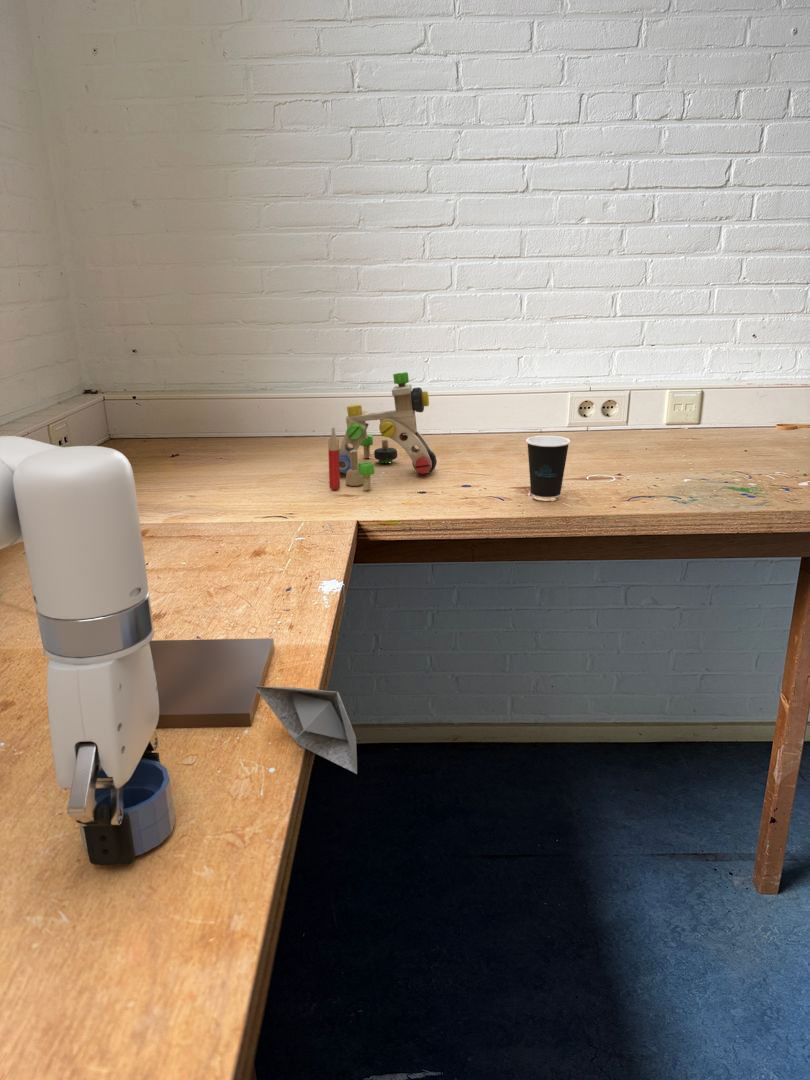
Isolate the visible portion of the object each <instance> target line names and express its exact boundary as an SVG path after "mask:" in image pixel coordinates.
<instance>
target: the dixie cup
mask: <svg viewBox="0 0 810 1080" xmlns="http://www.w3.org/2000/svg"><path fill="white" fill-rule="evenodd" d="M525 442H526V443H527V457H528V472H529V485H530V494H531V496H534V497H536V498H542V499H550V498H556V497H558V496H559V497H560V495H561V492H562V486H563V480H564V473H565V470H566V462H567V456H568V451H569V445H570V444H571V440H570V439H569V438H567V437H563V436H558V435H535V436H530V437H528V438H526V441H525Z"/></svg>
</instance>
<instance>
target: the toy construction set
mask: <svg viewBox="0 0 810 1080" xmlns="http://www.w3.org/2000/svg"><path fill="white" fill-rule="evenodd" d="M392 377H393V384H394V387H392V389H391V396H392V397H393V401H394V409H395V410H386V411H385V410H384V411H377V412H368V413H363V407H362V404H352V405H348V406H347V407H346V410H347V416H346V417H345V422H346V430H345V433H344V436H343V439H342V441H341V444H340V439H339V438H338V436H337V434H336V426H332V427H331V436H330V437H329V438H328V440H327V443H328V448H327V449H328V450H327V451H328V479H329V480H328V481H329V482H328V483H329V489H330V490H333V491H334V490H339V489H340V488H341V478H340V477H341V476H340V475H341V474H340V473H343V474H345V484H346V485H347V486H350V487H357V486H358V487H359V486H362V490H364V491H370V490H371V489H372V487H371V482H372V481H371V476H373V475H374V474H375V464H374V462H372V461H362V462H358V461H359V458H358V457H359V456H358V453H359V452H358V450H359V448H360V446H361V447H362V448H363V449H362V450H363V458H364V459H365V458H369V457H370V458H371V446H372V445H374V436H373V435H372V434H368V432H367V429H368V427H369V425H370V423H368V422H369V421H379V426H378V427H379V428H378V429H379V433H380V434H381V437H384V438H382V439H381V447H379V448H376V449H375V450H374V451H373V453H374V454H373V455H374V456H373V457H374V459H375V460H378V463H379V462H381V463H385V464H387V463H389V462H392V461H394V460H396V459H397V458H398V450H397V449H396V448H394V447H389V439H391V440H393V441H394V442H395V443H397V444H398V445H399V446H400V447H401V448H402V449H403V450H404V451H405V453H406V454H407V455H408V457H409V458H410V460H411V462H412V467H413V469H414V470H415V471H416V472H417V473H419V474H422V475H423V474H424V475H426V474H425V473H427V472H430V473H432V472H433V471H434V470H435V468H436V466H437V463H438V460H437V456H436V454H435V453H434V452H433V451H432V449H431V447H430V445H429V443H428V442H427V441H426V439H425V438H424V437H423V435H422V434H421V433H420V432H419V431H418V428H417V427H418V426H417V417H416V413H423V412H424V411H425V407H429V406H430V399H429V398H430V397H429V392H428V391H427V390H425V391H423V389H422V387H413V385H412V383H409V382H410V380H409V379H410V378H409V373H408V372H407V371H403V372H396V373H393V375H392ZM387 438H389V439H387ZM348 444H350V445H352V447H351V446H349V445H348ZM417 447H418V448H417ZM381 463H380V464H381ZM392 463H393V462H392ZM427 474H428V473H427Z"/></svg>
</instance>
